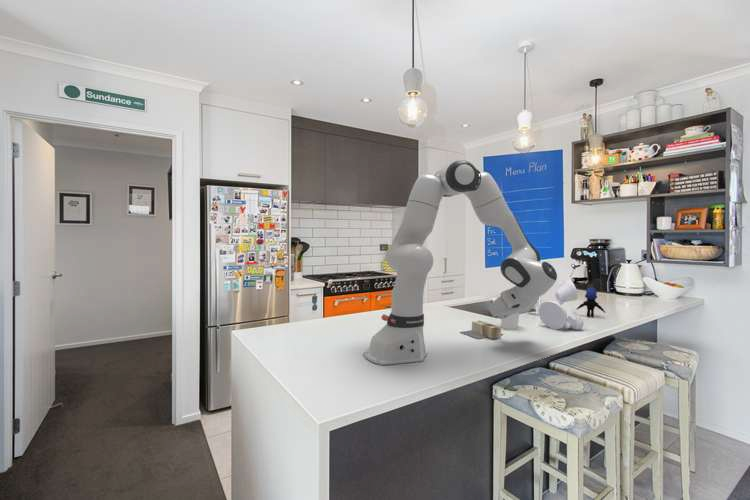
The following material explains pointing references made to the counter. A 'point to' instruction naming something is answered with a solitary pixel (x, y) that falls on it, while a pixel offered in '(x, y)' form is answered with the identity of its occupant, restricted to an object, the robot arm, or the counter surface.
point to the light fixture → (561, 309)
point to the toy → (591, 302)
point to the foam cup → (510, 321)
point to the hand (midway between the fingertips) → (501, 317)
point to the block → (486, 329)
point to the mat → (473, 334)
